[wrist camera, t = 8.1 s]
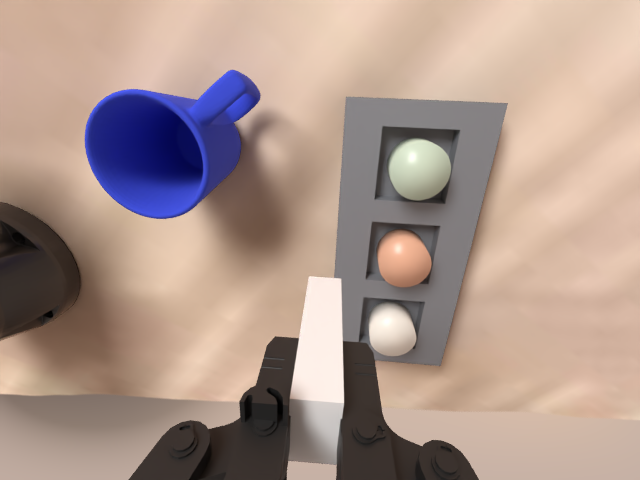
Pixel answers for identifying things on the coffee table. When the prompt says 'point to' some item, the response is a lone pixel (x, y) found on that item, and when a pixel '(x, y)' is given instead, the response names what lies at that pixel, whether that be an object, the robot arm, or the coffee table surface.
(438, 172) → the button sage
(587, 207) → the coffee table surface
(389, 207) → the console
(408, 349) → the button ivory
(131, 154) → the mug
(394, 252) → the button terracotta
